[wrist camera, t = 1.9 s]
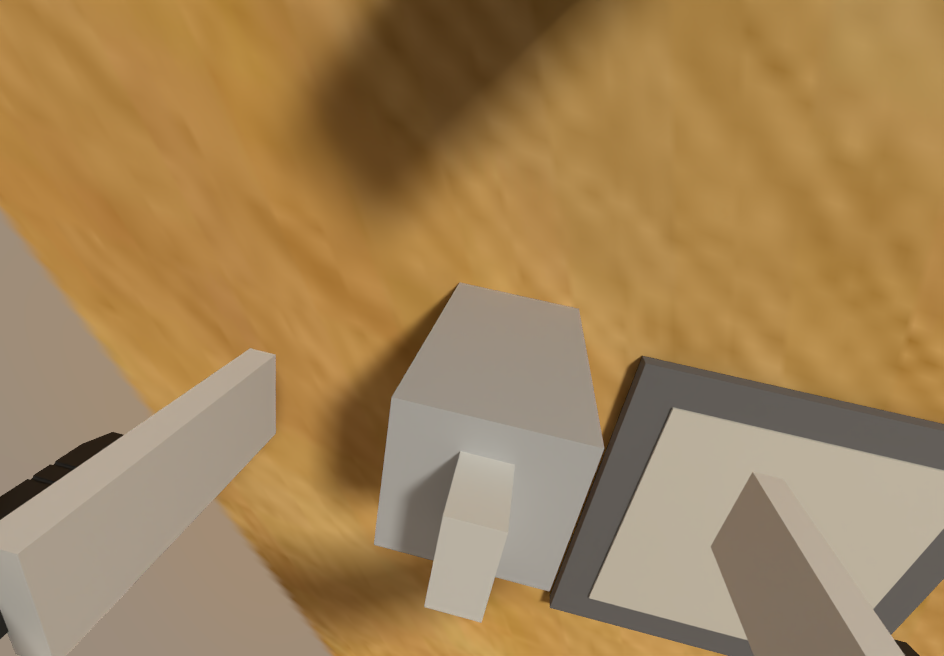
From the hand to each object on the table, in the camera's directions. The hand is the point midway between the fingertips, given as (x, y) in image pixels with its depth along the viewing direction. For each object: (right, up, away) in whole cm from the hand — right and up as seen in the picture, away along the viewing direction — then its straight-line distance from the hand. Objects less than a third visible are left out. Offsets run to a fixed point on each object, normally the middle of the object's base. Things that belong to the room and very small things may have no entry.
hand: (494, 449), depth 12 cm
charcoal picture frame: (+11, -5, +7) cm, 14 cm away
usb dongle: (+1, +3, +5) cm, 6 cm away
